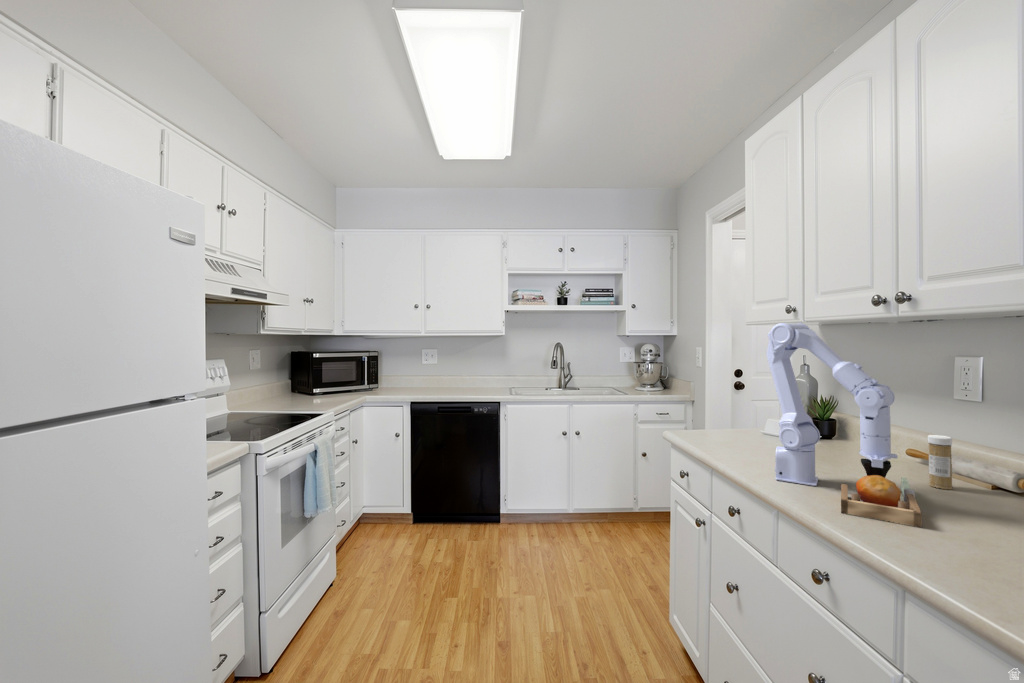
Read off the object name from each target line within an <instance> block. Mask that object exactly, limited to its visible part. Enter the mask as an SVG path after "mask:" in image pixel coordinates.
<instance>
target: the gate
mask: <svg viewBox="0 0 1024 683" xmlns="http://www.w3.org/2000/svg"><path fill="white" fill-rule="evenodd" d="M900 482H901V483H900V485H901V486H900V488H901V489H900V491H901V493H902V495H903V501H904V502H907V494H912V495H914V497H915V498H916V490H915V489H912V488H911V485H910V484H909V481H908V480H907V477H903V476H902V477H900Z"/></svg>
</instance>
